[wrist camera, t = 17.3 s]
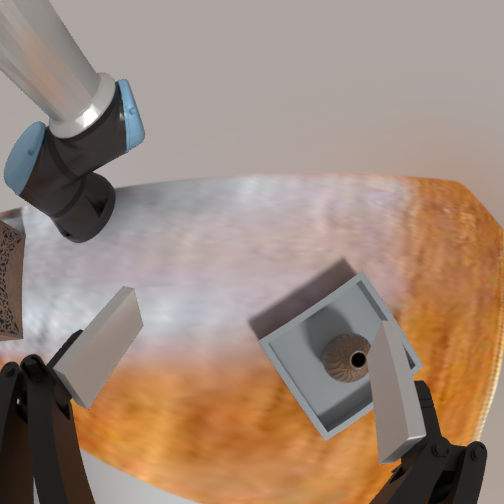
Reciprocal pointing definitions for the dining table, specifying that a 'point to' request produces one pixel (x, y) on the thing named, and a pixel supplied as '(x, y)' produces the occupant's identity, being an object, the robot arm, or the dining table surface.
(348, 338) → the vase
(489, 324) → the dining table surface
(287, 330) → the box
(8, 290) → the tissue box cover
